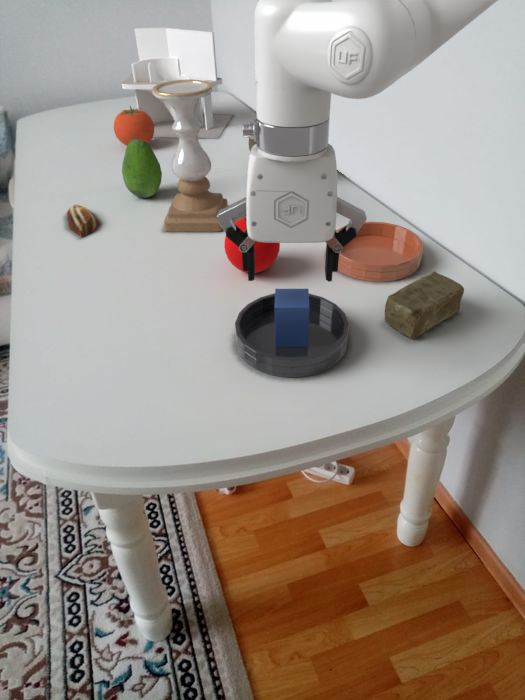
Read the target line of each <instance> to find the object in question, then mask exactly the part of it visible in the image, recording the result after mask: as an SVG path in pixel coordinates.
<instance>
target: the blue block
mask: <svg viewBox="0 0 525 700" xmlns="http://www.w3.org/2000/svg"><path fill="white" fill-rule="evenodd" d="M274 293H275V347H308V332H309V294H310V293H309V288H275V290H274Z"/></svg>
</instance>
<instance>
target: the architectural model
mask: <svg viewBox="0 0 525 700" xmlns="http://www.w3.org/2000/svg"><path fill="white" fill-rule="evenodd" d="M133 30H134V36H135V41H136V48H137V54H138V60H137V61H135V62H132V63H131V65H130V66H131V72H132V74H130V75H129V76H128V77H127V78H126V79H124V80H123V81H122V82H121V88H122V90H133V91H134V98H135V102H136V104H135V105H136V109H137V108H140V109H139V110H142V111H144V112H146V113H147V114H148V115H149V116H150V117H151V119H152V121H153V123H154V135H153V137H152V138H172V139H173V138H177V139H179V138H178V136H177V134H176V132H175V131H174V130H173V129H172V125H173V123H174V121H175V116H176V115H175V111H174V109H173V108H172V107H171V105H170V104H169V103H168V100H164V99H159V98H156V97H155V96H154V95H153V93H152V88H153V87H154V86H155V85H157V84H160V83H164V82H168V81H174V80H203V81H207V82H209V83H211V84H212V86H213V88H214V87H217V86H221V85H222V84H223V78H222V77H218V72H217V71H218V69H217V68H218V67H217V58H216V57H217V56H216V45H215V44H216V43H215V32H214V31H207V30H206V31H204V30H196V29H195V30H194V29H184V28H183V29H182V28H174V27H173V28H172V27H134V28H133ZM202 106H203V107H202ZM203 113H204V114H203ZM195 114H196V117H197V119H198V120H199V122H200V123H201V125H202V127H201V129H199V134H198V139H219V137H220V136H221V135H222V133H223V131H224V130H225V128H226V127H227V125H228V123H229V122H230V120H231V119H232V116H233V115H232V114H214V111H213V99H212V92H211V93H210V94H209V95H207V96H204V97H201V98H199V103H198V104H197V106H196V111H195Z"/></svg>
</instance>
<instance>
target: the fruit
mask: <svg viewBox="0 0 525 700" xmlns="http://www.w3.org/2000/svg"><path fill="white" fill-rule="evenodd" d="M124 152H125V153H124V156H123V159H122V168H121V174H122V180H123V183H124V185H125V187H126V188H127V190H128V191H129V192H130V193H131V194H132V195H133V196H135V197H137V198H143V199H145V198H146V199H147V198H150V197H152V196H154V195H155V194H156V193H157V192H158V191H159V189H160V187H161V184H162V176H163V173H162V168H161V165H160V162H159V160H158V158H157V156H156V154H155V152H154V151H153V149H152V148H151V145H150V144H149V143H146V142H145V141H143V140H140V139H132V140H131V141H130V143H129V144H128V145H127V146H126V148H125V151H124Z"/></svg>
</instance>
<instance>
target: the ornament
mask: <svg viewBox="0 0 525 700" xmlns="http://www.w3.org/2000/svg"><path fill="white" fill-rule="evenodd" d="M233 223H234V224H235V225H236V226H237V227H238V228H240V229H241V230H242V231H243V232H244V231H245V230H246V229H247V221H246V213H244V217H241V218H239V219H238V220H236V221H235V222H233ZM280 248H281V243H267V242H257V241H256V243H255V274H256V273H260V272H263V271H266V270H267V269H269V268H270V267H271V266H273V264H274V263H275V261H276V260H277V258H278V256H279V254H280ZM224 251H225V255H226V258H227V259H228V261H229V262H230V264H231V265H232V266H234V268H236V269H237V270H239V271H241V272H243V273H247V274H248V271H243V263H242V252H241V251H240V250H239V247H238V246H237V245H236V244H234V243H233V242H232V241H231V240H230V239H229V238H227V236H226V235H225V237H224Z"/></svg>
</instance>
